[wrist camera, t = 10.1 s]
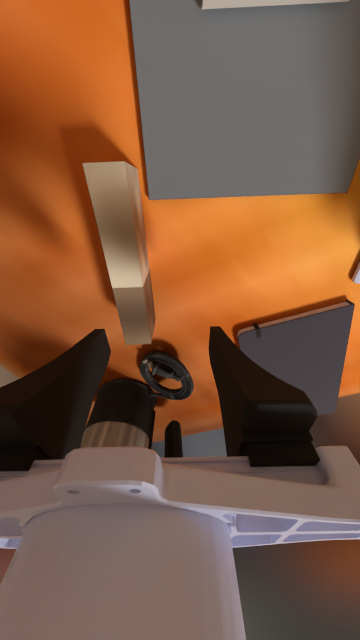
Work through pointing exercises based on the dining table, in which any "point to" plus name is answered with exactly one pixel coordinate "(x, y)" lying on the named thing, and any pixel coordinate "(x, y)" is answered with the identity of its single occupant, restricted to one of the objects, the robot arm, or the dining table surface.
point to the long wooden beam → (124, 245)
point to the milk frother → (137, 408)
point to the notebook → (304, 351)
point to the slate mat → (248, 97)
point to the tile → (258, 3)
